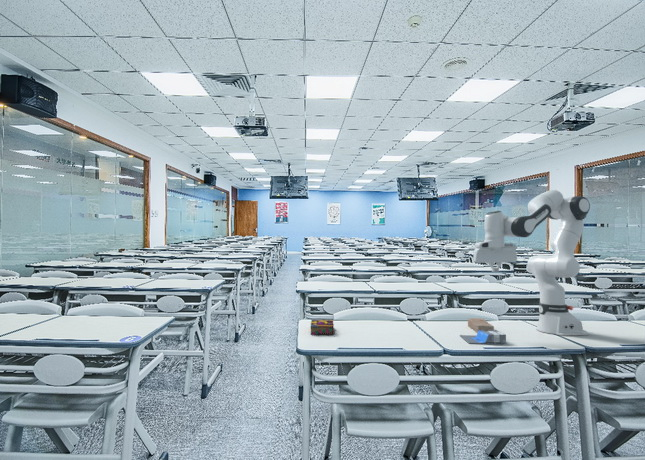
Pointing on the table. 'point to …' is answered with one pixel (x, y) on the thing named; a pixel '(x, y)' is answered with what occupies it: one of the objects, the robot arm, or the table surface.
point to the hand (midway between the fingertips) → (495, 271)
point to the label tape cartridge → (490, 336)
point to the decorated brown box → (321, 327)
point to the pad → (471, 341)
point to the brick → (479, 324)
